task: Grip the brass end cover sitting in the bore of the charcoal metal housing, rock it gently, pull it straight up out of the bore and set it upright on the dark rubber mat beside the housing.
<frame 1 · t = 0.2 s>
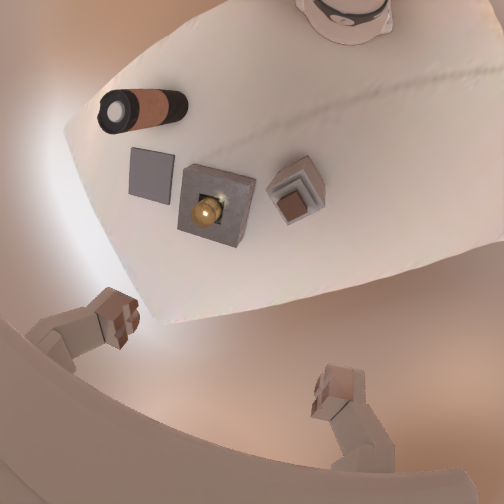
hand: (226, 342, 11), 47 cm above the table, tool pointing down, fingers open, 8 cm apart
housing: (218, 201, 60), on the table
grey square bottle: (302, 177, 54), on the table
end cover: (217, 202, 59), point 1 cm above the table, touching housing
travel mug: (174, 106, 52), on the table
mat: (150, 175, 61), on the table
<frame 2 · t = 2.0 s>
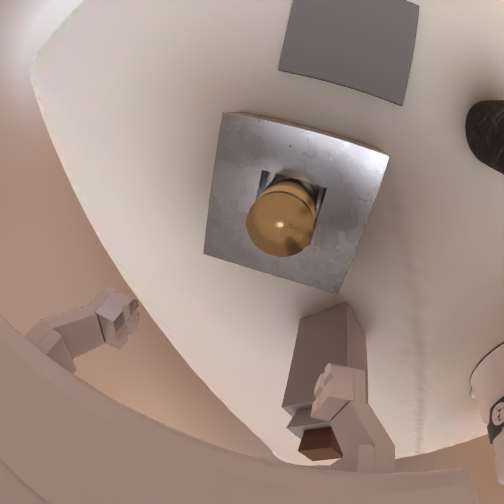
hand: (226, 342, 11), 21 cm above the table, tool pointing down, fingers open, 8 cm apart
housing: (293, 192, 28), on the table
grey square bottle: (333, 327, 35), on the table
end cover: (292, 195, 27), point 1 cm above the table, touching housing
travel mug: (489, 133, 18), on the table
mat: (352, 32, 18), on the table
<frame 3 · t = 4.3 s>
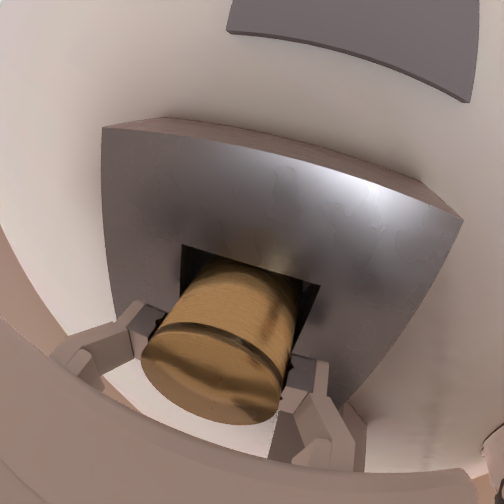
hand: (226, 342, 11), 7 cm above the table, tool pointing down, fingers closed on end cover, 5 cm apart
housing: (262, 259, 16), on the table
grey square bottle: (325, 417, 23), on the table
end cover: (258, 268, 15), point 1 cm above the table, touching gripper, housing
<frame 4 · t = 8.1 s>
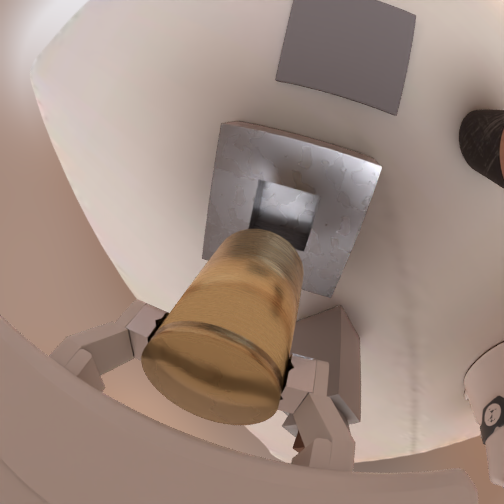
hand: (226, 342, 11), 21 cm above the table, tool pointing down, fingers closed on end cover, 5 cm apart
housing: (289, 199, 29), on the table
grey square bottle: (328, 329, 36), on the table
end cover: (258, 270, 15), point 15 cm above the table, touching gripper
travel mug: (482, 141, 20), on the table
mat: (348, 42, 19), on the table
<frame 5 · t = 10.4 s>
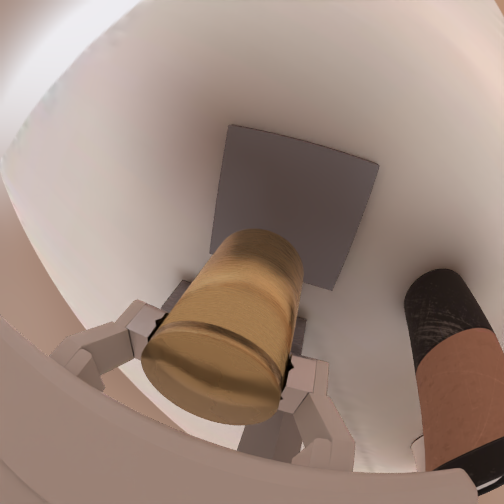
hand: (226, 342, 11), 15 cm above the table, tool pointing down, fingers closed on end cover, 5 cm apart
housing: (233, 342, 33), on the table
grey square bottle: (278, 416, 40), on the table
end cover: (258, 270, 15), point 9 cm above the table, touching gripper
travel mug: (434, 297, 23), on the table
mat: (287, 209, 23), on the table
when the fingers open (8 cm above the table, at t = 12.4 s): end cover drops 2 cm, resting on mat.
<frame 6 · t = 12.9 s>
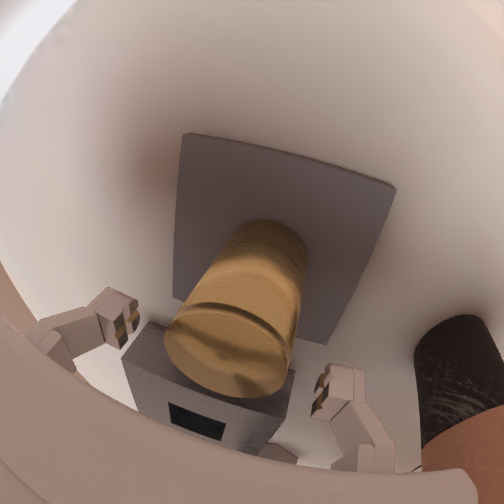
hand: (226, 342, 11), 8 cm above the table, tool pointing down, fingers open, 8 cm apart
housing: (212, 386, 27), on the table
grey square bottle: (268, 450, 34), on the table
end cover: (266, 258, 17), point 1 cm above the table, touching mat
travel mug: (450, 344, 18), on the table
mat: (267, 247, 17), on the table
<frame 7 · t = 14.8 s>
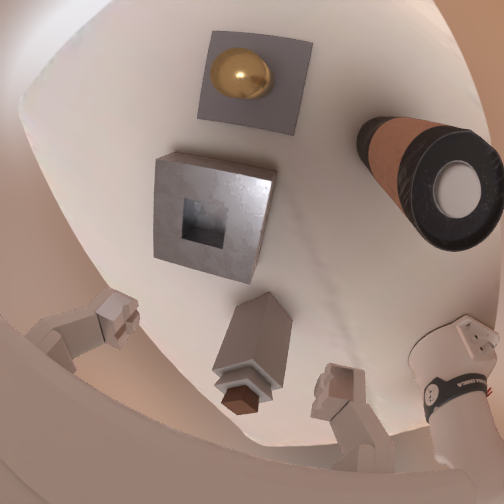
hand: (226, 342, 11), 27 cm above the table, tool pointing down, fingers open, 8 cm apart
housing: (216, 209, 38), on the table
grey square bottle: (264, 312, 45), on the table
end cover: (253, 80, 28), point 1 cm above the table, touching mat
travel mug: (383, 145, 29), on the table
mat: (253, 79, 28), on the table
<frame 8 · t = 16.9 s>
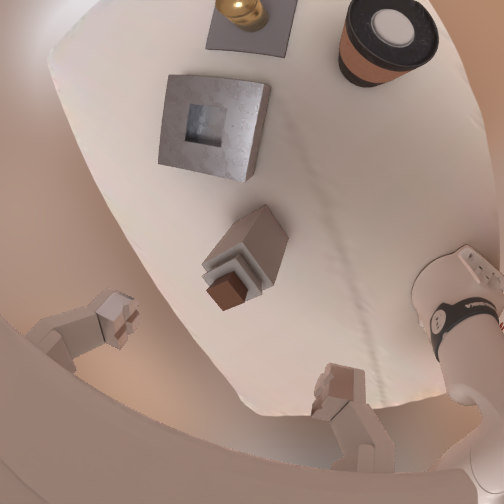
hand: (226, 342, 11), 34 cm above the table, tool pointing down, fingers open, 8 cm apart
housing: (218, 123, 39), on the table
grey square bottle: (260, 230, 46), on the table
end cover: (251, 18, 29), point 1 cm above the table, touching mat
travel mug: (362, 65, 30), on the table
mat: (252, 18, 30), on the table
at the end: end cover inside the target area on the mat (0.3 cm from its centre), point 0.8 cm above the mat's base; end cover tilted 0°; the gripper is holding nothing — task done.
